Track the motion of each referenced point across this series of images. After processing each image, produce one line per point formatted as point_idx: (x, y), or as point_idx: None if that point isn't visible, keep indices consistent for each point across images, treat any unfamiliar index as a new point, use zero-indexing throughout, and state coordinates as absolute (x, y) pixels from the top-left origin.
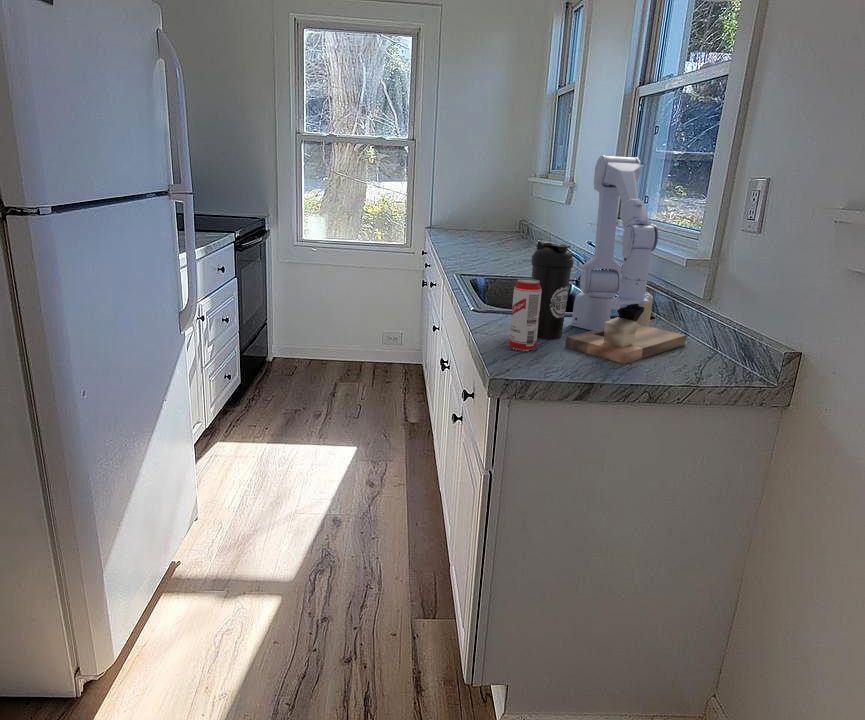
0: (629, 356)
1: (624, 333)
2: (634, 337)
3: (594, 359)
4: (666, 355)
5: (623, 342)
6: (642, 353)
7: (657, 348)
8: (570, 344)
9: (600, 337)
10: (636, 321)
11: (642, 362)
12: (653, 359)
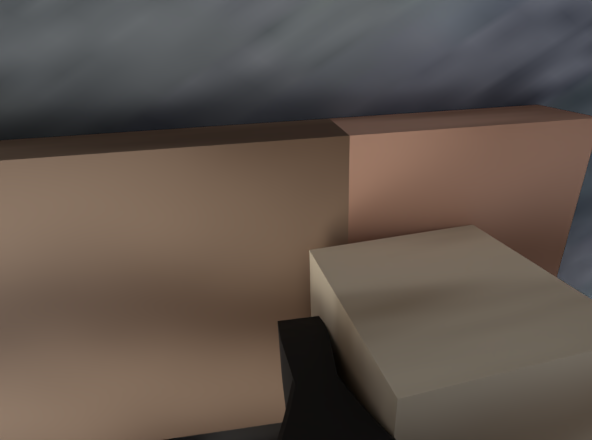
0: (521, 115)
1: (561, 288)
2: (332, 271)
3: (568, 254)
4: (39, 62)
5: (498, 244)
6: (330, 126)
7: (77, 145)
8: None
9: None
10: (296, 430)
11: (404, 57)
12: (256, 56)
